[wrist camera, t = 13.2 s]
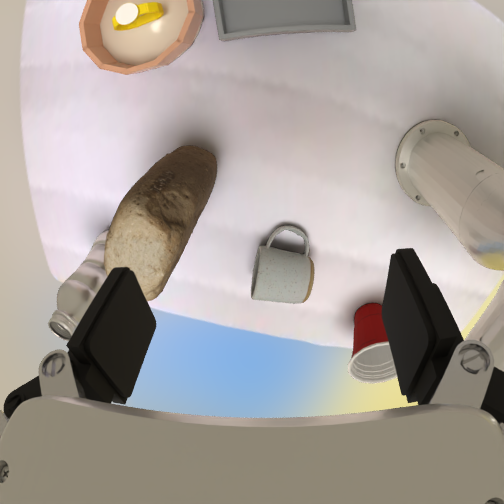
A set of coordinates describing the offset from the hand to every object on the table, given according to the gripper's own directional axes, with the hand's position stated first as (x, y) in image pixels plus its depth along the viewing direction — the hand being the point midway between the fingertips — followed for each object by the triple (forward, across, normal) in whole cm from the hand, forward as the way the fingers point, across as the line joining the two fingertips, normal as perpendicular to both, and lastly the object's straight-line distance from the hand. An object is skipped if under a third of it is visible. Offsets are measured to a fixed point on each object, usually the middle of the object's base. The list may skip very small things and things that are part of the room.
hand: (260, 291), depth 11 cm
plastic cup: (+31, -14, +34) cm, 48 cm away
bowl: (+30, +14, -17) cm, 37 cm away
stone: (+31, +12, +6) cm, 33 cm away
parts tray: (+30, -3, -17) cm, 35 cm away
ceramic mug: (+31, +1, +20) cm, 36 cm away
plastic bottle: (+31, +27, +15) cm, 43 cm away
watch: (+30, +13, -17) cm, 37 cm away
